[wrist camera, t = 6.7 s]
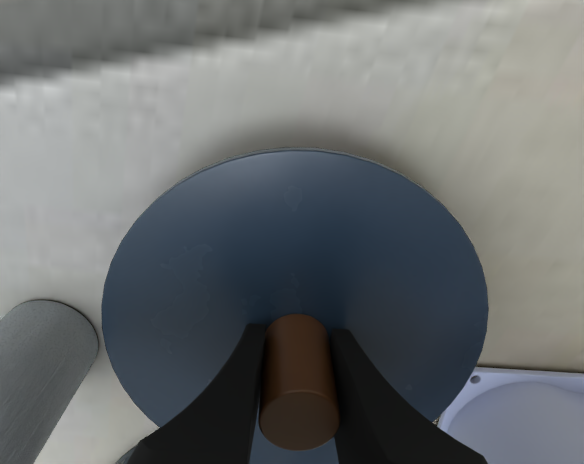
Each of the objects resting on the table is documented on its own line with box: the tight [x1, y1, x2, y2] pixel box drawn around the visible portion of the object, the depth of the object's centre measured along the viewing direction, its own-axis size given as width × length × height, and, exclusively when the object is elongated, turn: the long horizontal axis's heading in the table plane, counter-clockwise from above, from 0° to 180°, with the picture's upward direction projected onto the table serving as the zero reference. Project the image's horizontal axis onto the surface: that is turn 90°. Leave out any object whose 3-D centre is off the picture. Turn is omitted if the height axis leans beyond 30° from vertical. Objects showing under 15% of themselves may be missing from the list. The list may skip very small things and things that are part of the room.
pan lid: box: [102, 147, 488, 464], centre depth 15 cm, size 14×14×5 cm
